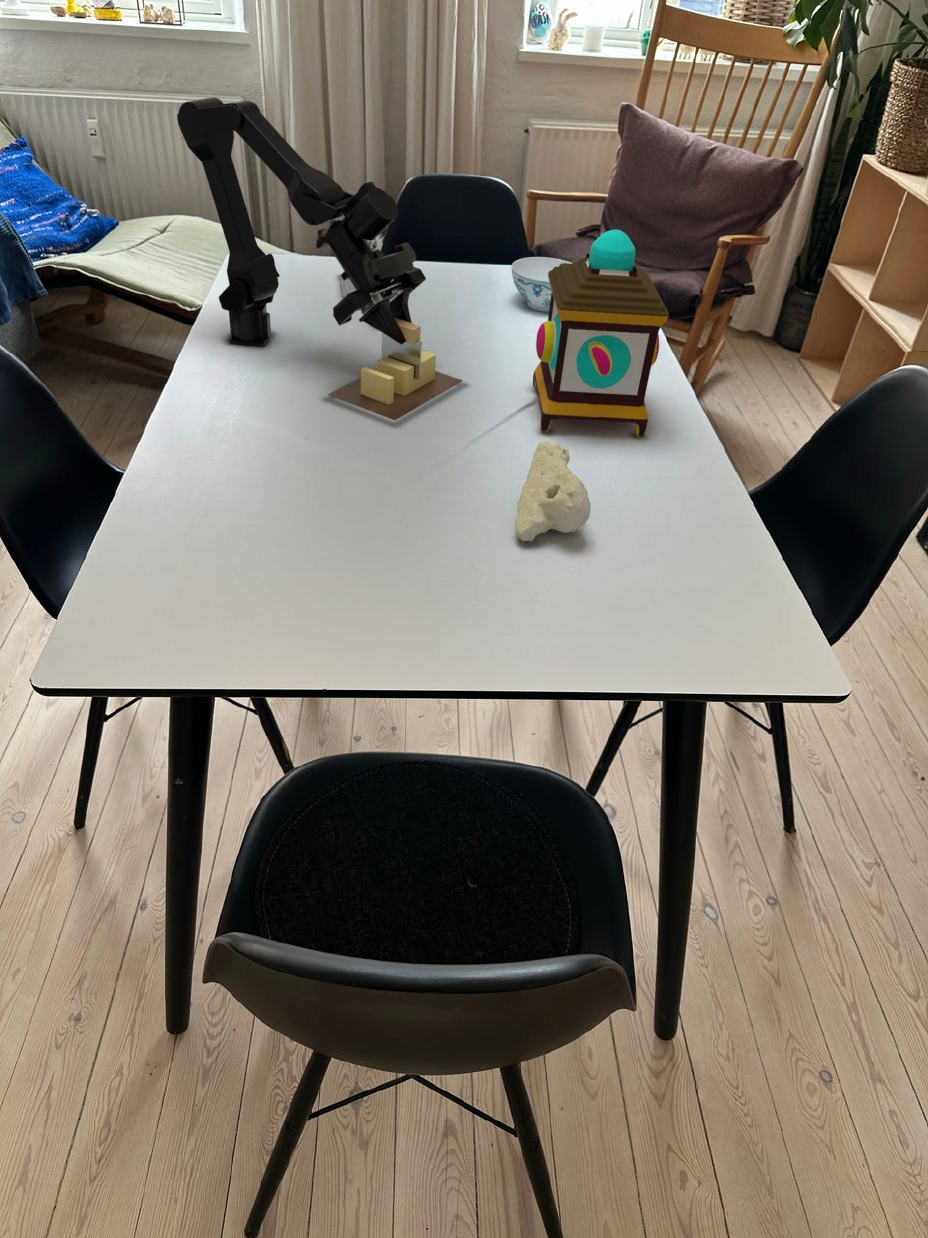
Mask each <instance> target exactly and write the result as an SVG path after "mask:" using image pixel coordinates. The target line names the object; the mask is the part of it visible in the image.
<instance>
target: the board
mask: <svg viewBox="0 0 928 1238" xmlns="http://www.w3.org/2000/svg"><path fill="white" fill-rule="evenodd" d="M374 370H375V371H376V369H374ZM462 382H464V380H463V379H460V378H457V377H454V376H451V375H448V374H446V373H442V372H440V371H437V370H435V379H434V380H432V381H431V382H429V383H427V384H425V385H423V386H422V387H420V388H418V389H416V390H414V391H413V392H411V393H409V394H407V395H405V396H402V395H400V394H397V393H394V402H393V403H392V404H390V405H388V404H385V403H383V402H380V401H377V400H375V399H372V398H370V397H367V396H364V395H362V394H361V377H359V378H357V379H355V380H354V381H352V382H349V383H348V384H346V385H343V386H342V387H339V388H338V389H336V390H334V391H332V392H329V393H328V394H327V395H328V396H330V397H332V398H335V399H338V400H340V401H342V402H345V403H348V404H350V405H353V406H355V407H358V408H361V409H364V410H366V411H369V412H372V413H373V414H375V415H376V414H377V415H379V416H382V417H385V418H387V419H389V420H392V421H396V420H399V419H400V418H401V417H403V416H405V415H407V414H409V413H410V412H413V411H414V410H416V409H417V408H419V407H421V406H422V405H424V404H426V403H427V402H429V401H432V400H433V399H435V398H436V397H438V396H439V395H442V394H443V393H445V392H446V391H448V390H450V389H452V388H453V387H455V386H457V385H459V384H460V383H462Z"/></svg>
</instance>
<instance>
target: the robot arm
mask: <svg viewBox="0 0 928 1238" xmlns="http://www.w3.org/2000/svg"><path fill="white" fill-rule="evenodd" d="M176 119H177V124H178V127H179V130H180V132H181V134H182V137H183V139H184V141H185V144H186V146H187V148H188V149H189V150H190V152H192V153H193V155H194V156H195V157H196V158H197V159H198V160H199V162H201V164H202V167H203V170H204V174H205V176H206V177H205V178H206V180H207V184H208V186H209V190H210V192H211V196H212V200H213V202H214V206H215V210H216V212H217V215H218V218H219V222H220V225H221V229H222V231H223V232H222V233H223V235H224V239H225V242H226V244H227V248H228V251H229V253H228V261H227V267H226V274H227V279H228V280H227V281H228V286H227V287H226V288H225V289H224V290H223V292H222V293H220V295H218V301H219V304H220V306H221V309H222V310H225V311H228V319H229V329H230V337H229V338H228V343H229V344H237V345H248V346H256V347H257V346H259V347H263V346H265V344H266V342H267V341H268V340H269V339H270V336H271V335H272V327H271V324H272V323H271V314H270V312H268V310H267V304H271V303H273V301H274V296H275V294H276V293H277V290H278V288H279V285H280V283H279V277H280V273H279V272H278V269H277V267H276V262H275V257H274V255H273V254H272V253H267V254H266V253H265V252H264V250H262V249H261V247H259V245H258V243H257V240H256V236H255V233H254V230H253V225H252V223H251V219H250V216H249V213H248V209H247V206H246V203H245V198H244V195H243V192H242V189H241V185H240V182H239V178H238V175H237V171H236V168H235V165H234V161H233V157H232V153H233V147H234V141H235V133H236V134H237V135H238V136H239V137H240V138H241V139H242V140H243V141H244V143H245V144H246V145H247V146H248V147H249V148H250V150H252V151H253V152H254V153H255V154H256V156H257V157H258V158H259V159H260V161H262V162H263V163H264V164H265V166H266V167H267V168H268V169H269V170H270V171H271V172H272V173H273V174H274V176H275V177H276V178H277V179H278V180H279V181H280V182H281V183H282V184H283V186H284V187H285V189H286V191H287V195H288V198H289V202H290V204H291V205H292V207H293V209H294V210H295V212H297V214H298V216H299V217H300V218H301V220H302V221H303V222H304V223H305V224H307V225H309V226H319V225H323V224H326V223H328V222H331V221H333V222H332V223H331V224H330V225H329V226H328V227H324V228H320V229H318V230H317V238H316V241H315V242H316V243H315V247H316V249H322V248H325V247H328V248H329V249H330V251H331V253H332V254H333V255H334V257H335V259H336V260H337V263H339V265H340V267H341V268H342V270H343V272H342V273H341V274H340V275H341V277H342V278H343V280H347V279H349V280H350V281H351V283H352V284H353V286H354V287H355V289H356V291H354V292H351V293H349V294H347V295H346V296H345V297H343V298H342V299H341V300H339V302H338V303H337V304H335V305H334V306H333V307H332V317H333V318H334V320H335V322H336V323H337V325H338V326H339V327H340V326H342V325H345V324H347V323H350V322H351V321H352V320H353V315H354V314H355V313H356V312H359V311H360V313H361V314H362V316H361V317H360V318H358V321H359V322H360V323H363V322H364V323H365V324H367V325H369V326H370V327H372V328H374V329H376V330H378V331H379V332H381V334H382V333H384V334H386V335H387V336H389V337H390V338H392V339H393V340H395V341H396V342H398V343H399V344H401V345H402V344H404V343H405V342H406V339H405V337H404V335H403V333H402V331H401V329H400V327H399V326H398V324H397V322H396V320H395V318H397V319H400V320H403V321H406V322H409V323H412V324H413V322H412V318H411V313H410V308H409V298H410V294H411V293H412V292H413V291H415V290H416V289H417V288H418V287H419V286H421V285H422V284H423V283H424V282H425V281H426V280H427V277H426V276H425V274H424V272H423V271H422V269H421V268H419V267H415V266H414V263H415V262H417V261H416V260H417V254H416V252H415V251H414V249H413V247H412V246H411V245H410V244H409V242H404V243H401V244H398V245H395V246H394V253H390V254H387V255H385V254H384V253H383V251H382V250H380V248H378V249H375V250H373V248H372V246H371V245H370V243H369V242H368V241H374V240H375V239H377V237H379V236H380V235H381V233H382V232H384V230H386V229H387V228H388V227H389V226H390V225H391V224H392V223H393V222H394V221H395V220H396V219H397V218H398V216H399V209H398V205H397V203H396V201H395V199H394V197H393V196H391V195H390V194H389V193H388V192H386V191H385V190H384V189H382V188H380V187H376V185H375V183H374V181H372V180H370V181H367V182H364V183H362V185H360V187H359V188H358V191H357V192H356V193H355V194H353V193H351V192H348V191H346V190H344V189H343V187H342V186H341V185H340V184H339V183H338V182H336V181H335V180H334V179H333V178H331V177H330V176H329V175H327V174H326V173H325V172H323V171H321V170H319V169H317V168H314V167H313V166H311V165H310V164H308V163H307V162H306V161H305V160H304V159H303V157H301V156H300V154H298V153H297V151H296V150H295V149H294V148H293V147H292V145H291V144H289V143H288V141H287V140H286V139H285V138H284V137H283V135H281V134H280V133H279V131H278V130H277V129H276V128H275V127H274V126H273V125H272V124H271V122H270V121H269V120H268V119H267V118H266V117H265V116H264V115H263V114H262V113H261V109H260V108H259V106H258V104H256V103H255V102H253V101H251V100H243V101H238V102H226V103H225V102H223V101H222V99H220V98H217V97H214V96H213V97H207V98H201V99H195V100H194V99H193V100H189V101H184V102H183V103H182V104H181V105H180V106H179V110H178V113H177V114H176ZM341 217H344V218H343V219H342V220H341V219H339V218H341ZM337 219H338V220H337ZM334 220H335V221H334Z"/></svg>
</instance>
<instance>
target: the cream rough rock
mask: <svg viewBox="0 0 928 1238" xmlns="http://www.w3.org/2000/svg"><path fill="white" fill-rule="evenodd" d="M569 451H570V450H569V448H567V447H563V446H562V445H561V444H560V443H559V442H556V443H553V442H550V441H541V442H539V443H538V444H537V446H536V449H535V450H534V452H533V455H532V460H531V464H530V467H529V469H528V473H527V476H526V480H525V481H524V484H523V486H522V488H521V491H520V494H519V499H518V501H517V502H516V505H517V506H516V510H517V518H516V521H515V529H516V530H515V531H516V534H517V537H518V538H519V540H521V541H522V542H528V541H529V542H533V541H534V539H535V538H536V536H538V535H540V534H546V533H547V532H548V531H549V530H550V529H551V530H555V531H559V532H561V533H565V534H568V533H573V534H574V533H576V531H577V530H579V529H580V528H581V527H583V526H585V525H586V523H587V522H588V520H589V519H590V516H591V509H592V508H591V502H590V499H589V492H588V489H587V488H586V487H585V484H584V483H583V482H582V480H580V478H579V477H578V476H577V475H576V474H574V473H573V472H572V471H571V470H570V468H569V467H568V464H569V462H570V460H571V455H570V452H569Z"/></svg>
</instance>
